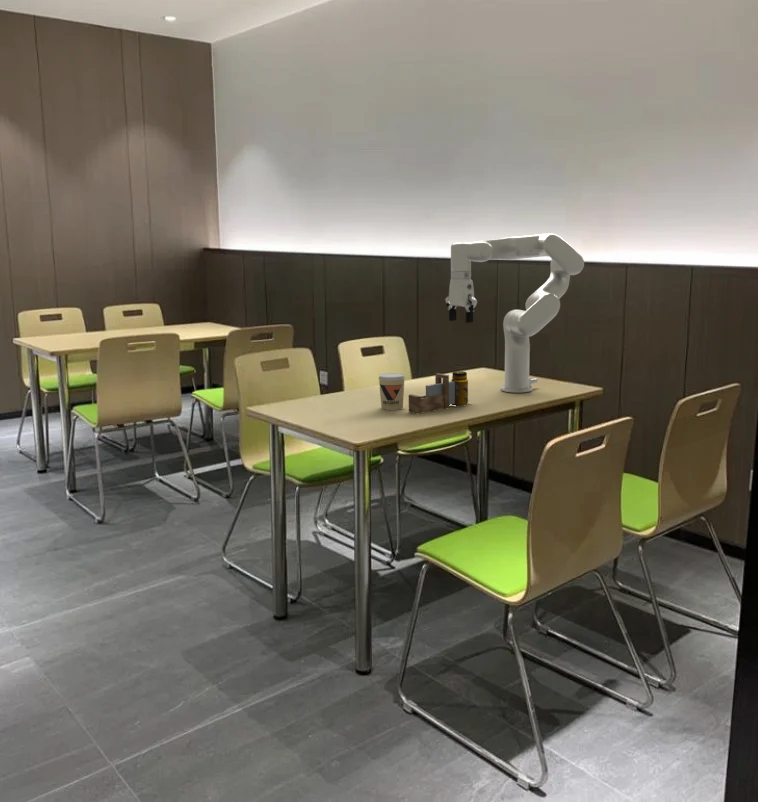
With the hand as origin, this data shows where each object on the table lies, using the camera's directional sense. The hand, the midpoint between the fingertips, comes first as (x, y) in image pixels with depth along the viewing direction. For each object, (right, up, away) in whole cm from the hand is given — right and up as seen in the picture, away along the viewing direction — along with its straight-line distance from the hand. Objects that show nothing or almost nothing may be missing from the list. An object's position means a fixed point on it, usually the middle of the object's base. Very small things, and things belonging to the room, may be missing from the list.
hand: (460, 321), depth 300 cm
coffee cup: (-26, -33, -16) cm, 45 cm away
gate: (-9, -33, -18) cm, 38 cm away
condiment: (-3, -32, -13) cm, 34 cm away
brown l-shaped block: (-13, -33, -20) cm, 41 cm away
